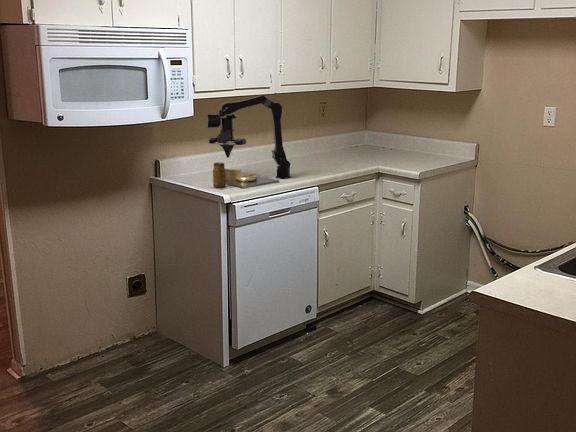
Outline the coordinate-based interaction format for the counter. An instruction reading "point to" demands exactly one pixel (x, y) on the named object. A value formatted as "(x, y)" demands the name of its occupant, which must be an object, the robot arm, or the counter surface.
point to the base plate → (250, 182)
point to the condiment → (219, 176)
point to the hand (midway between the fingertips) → (227, 157)
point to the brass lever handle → (238, 175)
